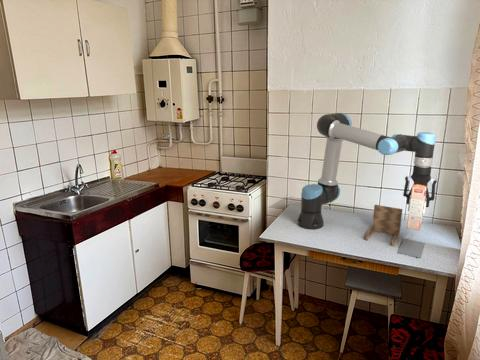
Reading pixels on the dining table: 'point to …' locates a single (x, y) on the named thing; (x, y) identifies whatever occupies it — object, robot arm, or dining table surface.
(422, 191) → the cracker box
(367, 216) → the dining table surface
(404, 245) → the mat
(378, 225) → the brown wooden legged piece
